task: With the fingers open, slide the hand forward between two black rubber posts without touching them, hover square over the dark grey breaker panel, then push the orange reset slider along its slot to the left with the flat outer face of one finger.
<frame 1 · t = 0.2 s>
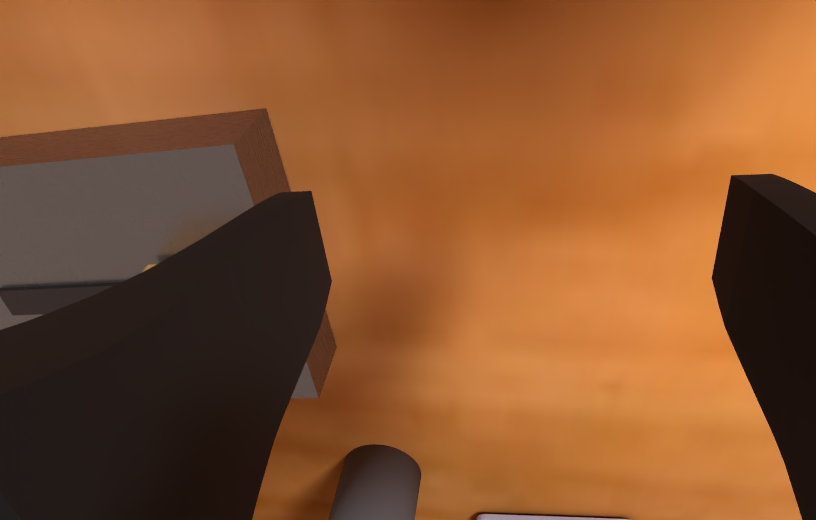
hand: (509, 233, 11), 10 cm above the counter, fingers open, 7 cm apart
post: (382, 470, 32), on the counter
breaker panel: (147, 252, 26), on the counter
reset slider: (186, 318, 21), point 5 cm above the counter, slide at 0.0 cm
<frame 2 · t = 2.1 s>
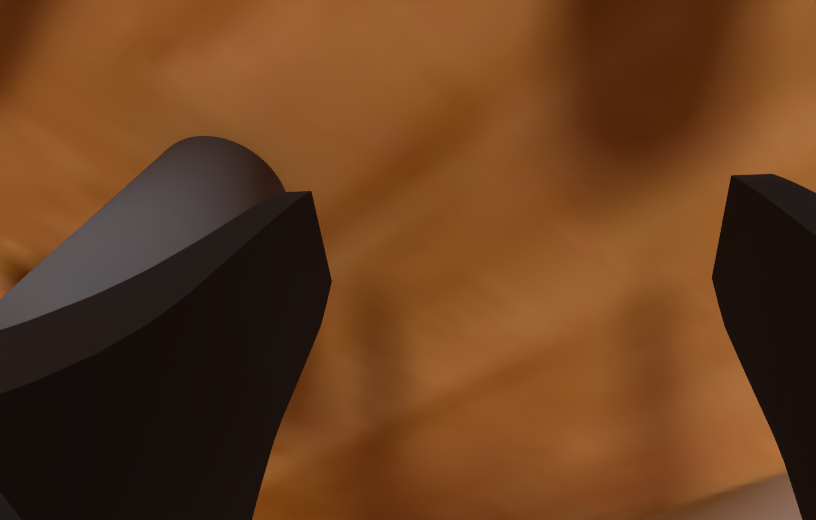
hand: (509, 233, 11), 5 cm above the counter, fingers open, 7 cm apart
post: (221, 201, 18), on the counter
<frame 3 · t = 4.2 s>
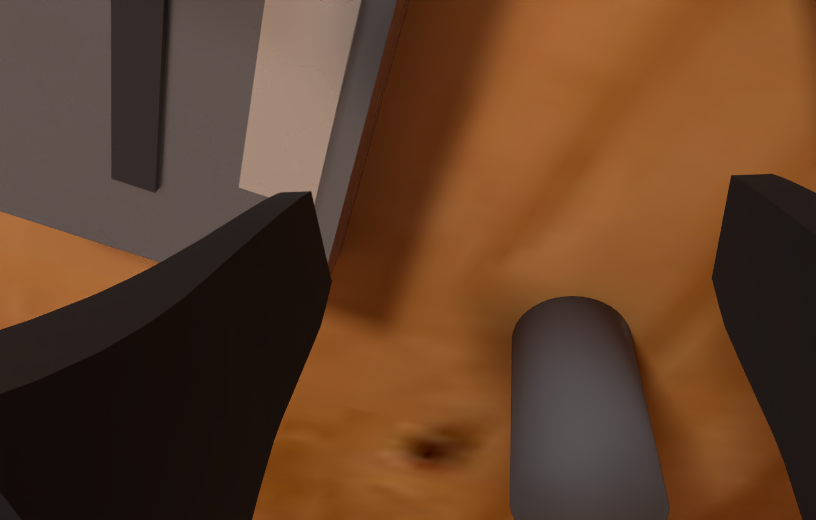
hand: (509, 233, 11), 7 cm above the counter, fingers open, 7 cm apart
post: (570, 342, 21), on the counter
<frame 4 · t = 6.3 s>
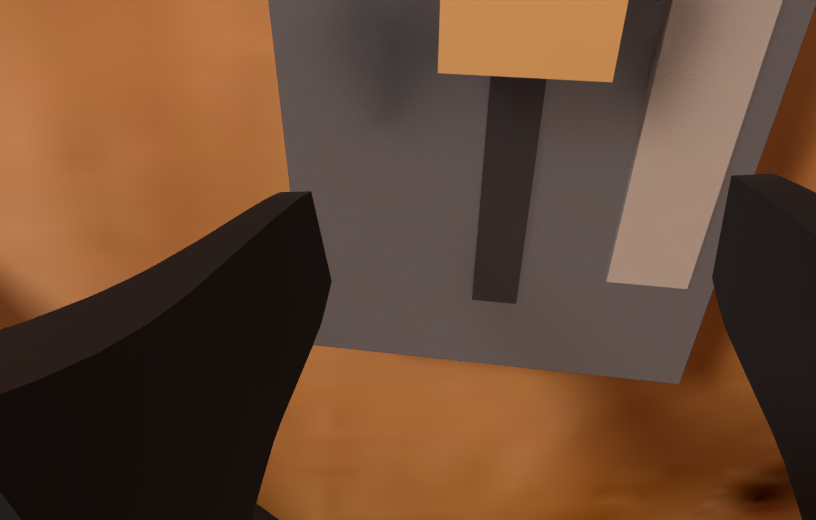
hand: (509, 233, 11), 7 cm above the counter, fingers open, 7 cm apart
breaker panel: (511, 100, 17), on the counter
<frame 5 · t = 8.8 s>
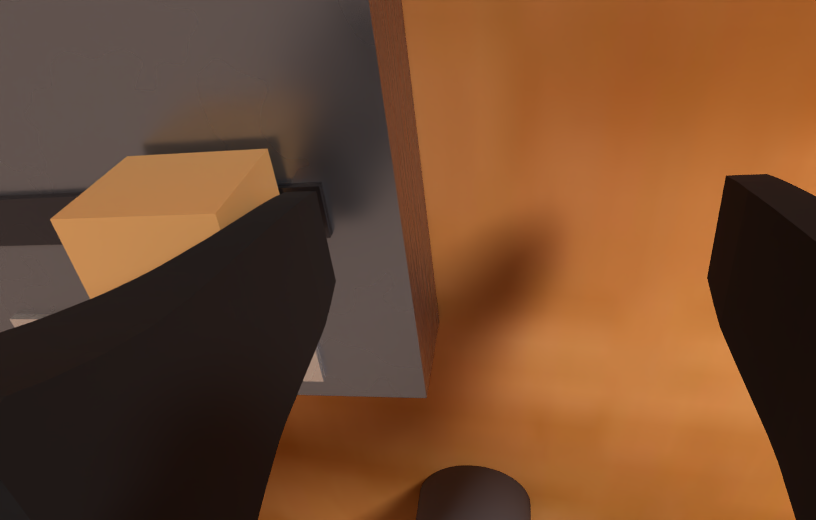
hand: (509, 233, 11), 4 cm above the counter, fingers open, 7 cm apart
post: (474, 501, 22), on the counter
breaker panel: (155, 158, 16), on the counter
reset slider: (192, 250, 12), point 5 cm above the counter, slide at 0.8 cm, touching gripper
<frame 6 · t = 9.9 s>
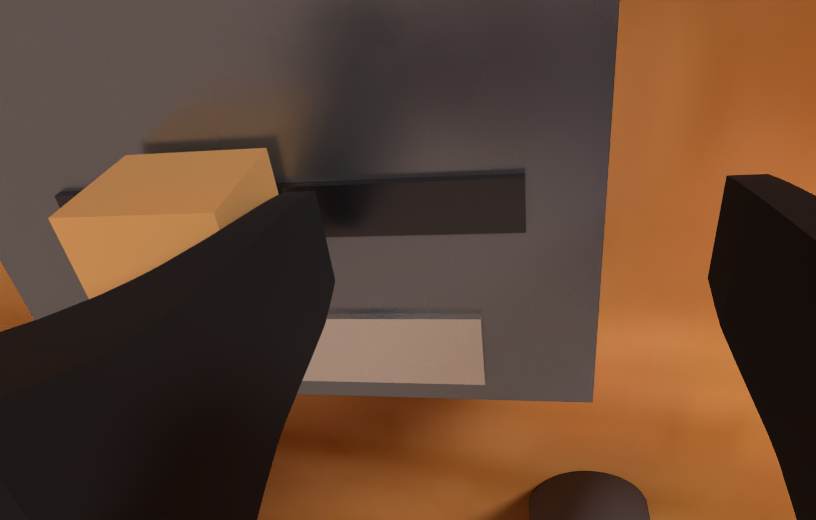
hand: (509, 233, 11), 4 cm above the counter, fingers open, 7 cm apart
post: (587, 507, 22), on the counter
breaker panel: (300, 150, 15), on the counter
reset slider: (191, 249, 12), point 5 cm above the counter, slide at 4.9 cm, touching gripper
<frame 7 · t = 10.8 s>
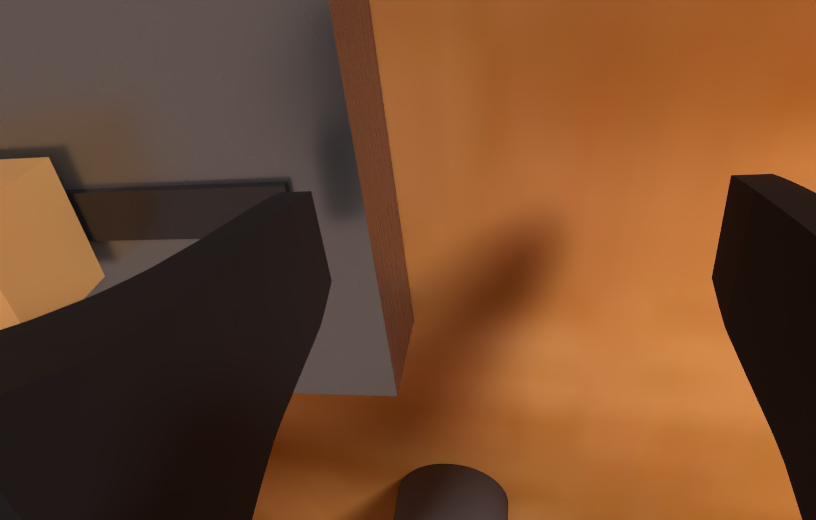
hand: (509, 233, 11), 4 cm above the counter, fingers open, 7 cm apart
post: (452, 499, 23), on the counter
breaker panel: (129, 157, 16), on the counter
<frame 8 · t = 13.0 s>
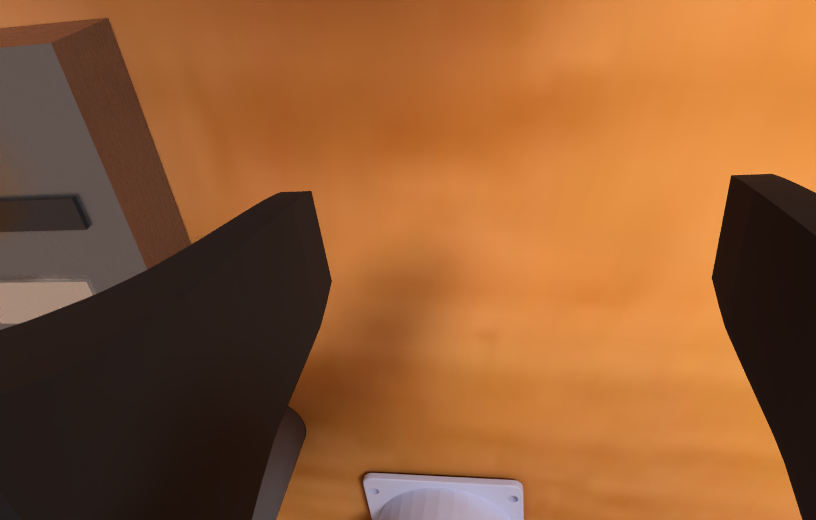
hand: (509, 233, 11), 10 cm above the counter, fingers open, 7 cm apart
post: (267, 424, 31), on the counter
breaker panel: (3, 178, 24), on the counter
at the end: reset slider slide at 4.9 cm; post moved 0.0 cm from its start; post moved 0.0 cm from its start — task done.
